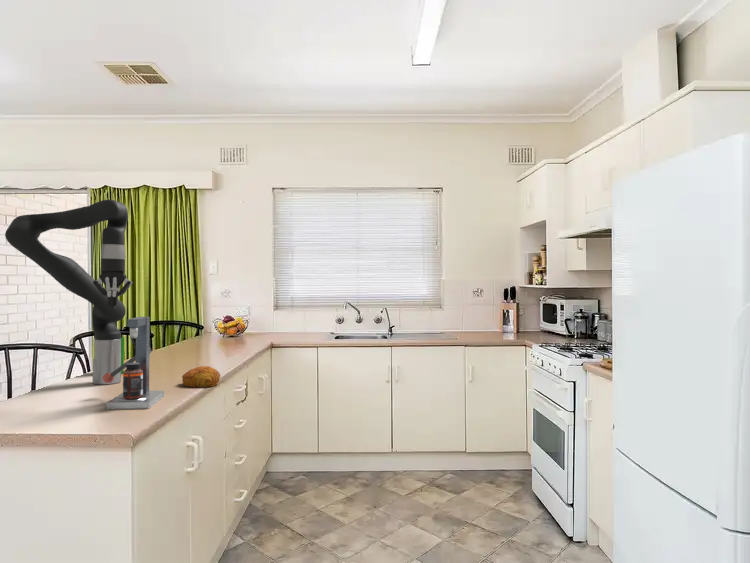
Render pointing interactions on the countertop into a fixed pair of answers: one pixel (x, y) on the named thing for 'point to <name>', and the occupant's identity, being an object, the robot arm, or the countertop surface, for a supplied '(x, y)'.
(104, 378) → the lever
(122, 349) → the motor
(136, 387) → the supplement bottle
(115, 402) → the press
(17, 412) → the countertop surface
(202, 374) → the croissant
